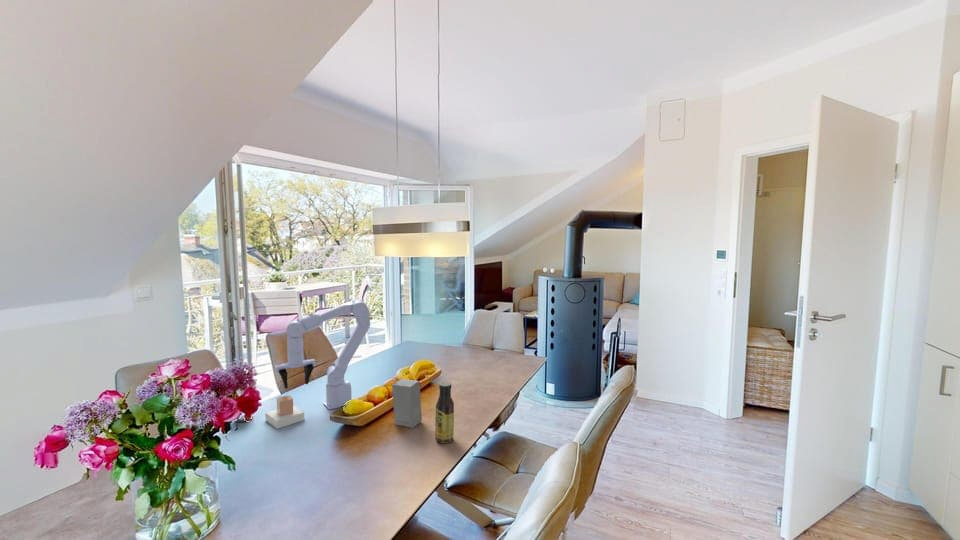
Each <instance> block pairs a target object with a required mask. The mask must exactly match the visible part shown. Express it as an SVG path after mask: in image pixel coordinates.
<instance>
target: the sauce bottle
mask: <svg viewBox="0 0 960 540" xmlns="http://www.w3.org/2000/svg"><path fill="white" fill-rule="evenodd" d="M438 385H439V386H438V388H439V395H438V398H437V402H436V404H435V417H434V418H435V419H434V420H435V422H434V424H435V428H434V429H435V431H434V435H435V441H436V442H438V443H439V444H449V443H451V442H453V439H454V434H455V432H454V431H455V430H454V427H455V425H454V424H455V408H454V407H455V404H454V400H453V398H452V394H451V393H452V392H451V390H452V383H451V382H449V381H441V382H439V384H438Z"/></svg>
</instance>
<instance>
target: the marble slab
mask: <svg viewBox="0 0 960 540" xmlns="http://www.w3.org/2000/svg"><path fill="white" fill-rule="evenodd" d="M302 421H305V411H303V410H301V409H300V408H299V407H297V406H296V405H295V404H293V414H289V415H284V416H279V414H278V413H277V408H276V409H273V410H271V411H267V412H265V422H266V423H267V422H268V424H270V425H271V426H272V427H274V428H275V429H276V430H278V429H280V428H284V427H286V426H289V425H292V424H296V423H299V422H302Z"/></svg>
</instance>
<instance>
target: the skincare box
mask: <svg viewBox="0 0 960 540" xmlns="http://www.w3.org/2000/svg"><path fill="white" fill-rule="evenodd" d="M391 387H392V401H393V419H394V425H396V426H400V427H406V428H411V429H413V428H415V426H417V425H419V424H420V423H421V422H422V421H423V415H422V414H423V413H422V401H421V400H422V399H421V388H420V387H421V385H420V381H419V380H415V379H414V380H412V379H407V378H406V379H405V378H401V379H399V380H397V381H395V382H394V383H392V385H391Z"/></svg>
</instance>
